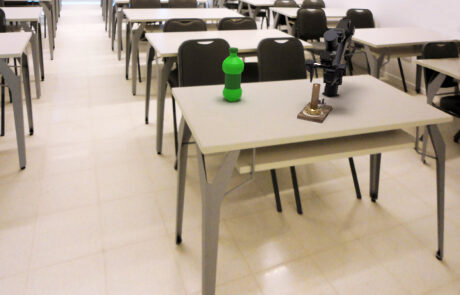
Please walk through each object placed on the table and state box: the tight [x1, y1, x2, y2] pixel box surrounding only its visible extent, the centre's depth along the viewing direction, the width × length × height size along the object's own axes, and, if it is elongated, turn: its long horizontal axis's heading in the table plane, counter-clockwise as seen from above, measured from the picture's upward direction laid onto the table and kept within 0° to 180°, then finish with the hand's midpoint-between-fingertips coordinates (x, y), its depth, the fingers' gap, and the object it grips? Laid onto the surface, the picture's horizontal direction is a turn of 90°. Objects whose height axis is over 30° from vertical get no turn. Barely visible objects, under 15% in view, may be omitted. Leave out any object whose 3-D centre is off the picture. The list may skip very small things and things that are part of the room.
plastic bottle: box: [221, 46, 245, 102], centre depth 178 cm, size 10×10×25 cm
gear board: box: [296, 98, 333, 124], centre depth 168 cm, size 20×11×6 cm, turn 153°
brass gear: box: [305, 82, 322, 116], centre depth 162 cm, size 7×7×13 cm
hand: (320, 83), depth 166 cm, fingers open, 9 cm apart
